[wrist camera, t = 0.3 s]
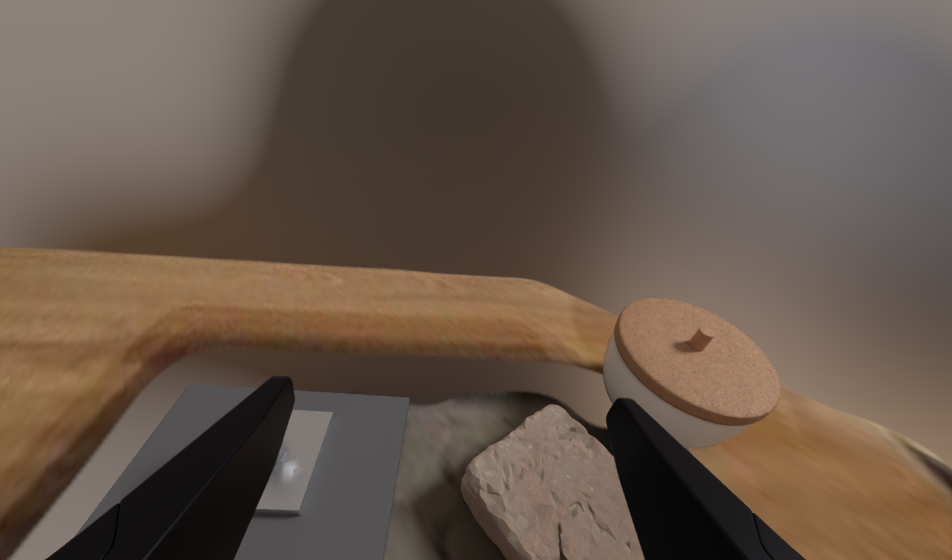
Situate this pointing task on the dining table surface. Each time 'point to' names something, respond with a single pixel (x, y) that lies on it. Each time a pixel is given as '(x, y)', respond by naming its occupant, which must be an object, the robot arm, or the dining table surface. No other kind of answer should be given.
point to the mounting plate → (333, 489)
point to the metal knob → (296, 463)
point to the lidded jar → (689, 371)
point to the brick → (551, 493)
